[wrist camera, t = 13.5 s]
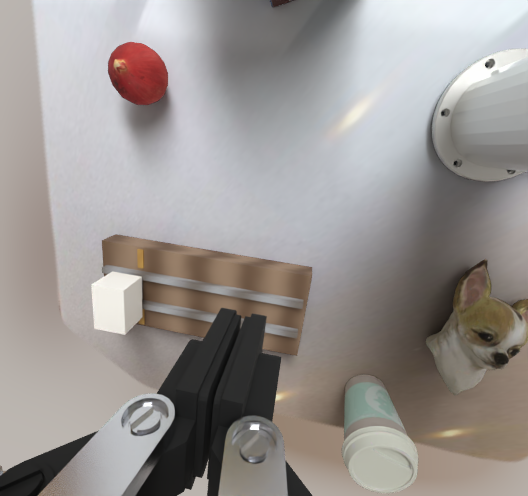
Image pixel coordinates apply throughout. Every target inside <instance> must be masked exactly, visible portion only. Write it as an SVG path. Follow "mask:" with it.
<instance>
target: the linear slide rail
mask: <svg viewBox="0 0 528 496" xmlns="http://www.w3.org/2000/svg"><path fill="white" fill-rule="evenodd" d="M102 250H103V266H104V267H102V273H104V276H106V275H107V274H109V273H111V272H112V271H113V272H118V273H124V274H129V275H135V276H141V277H142V280H143V299H142V318H141V319H140V320H139V321H138V322H137V323H136V324H139V325H144V326H149V327H154V328H159V329H164V330H169V331H174V332H179V333H184V334H189V335H195V336H200V337H205V336H206V334H207V332H208V330H209V329H210V327H211V325H212V323H213V321H214V320H215V318H216V316H217V314H218V313H219V311H220V309H221V308H227V309H232V310H236V311H237V315H241V326H242V324H243V321H244V318H245V316H247V317H251V314H252V313H253V314H259V315H264V316H267V319H266V327H265V334H264V341H263V348H262V349H266V350H271V351H276V352H281V353H286V354H291V355H296V356H297V353H298V348H299V342H300V337H301V332H302V327H303V321H304V316H305V311H306V305H307V300H308V295H309V290H310V284H311V279H312V267H307V266H301V265H295V264H289V263H283V262H277V261H271V260H265V259H259V258H253V257H247V256H241V255H235V254H229V253H223V252H217V251H211V250H205V249H199V248H193V247H187V246H182V245H176V244H170V243H164V242H158V241H152V240H146V239H140V238H134V237H128V236H122V235H116V234H115V235H113V236H111V237H109V238H107V239H104V240H102ZM241 326H240V329H241Z"/></svg>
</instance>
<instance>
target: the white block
mask: <svg viewBox="0 0 528 496" xmlns="http://www.w3.org/2000/svg"><path fill="white" fill-rule="evenodd" d="M91 288H92V301H93V314H94V328H95V329H99V330H104V331H109V332H114V333H119V334H124V335H125V334H126V333H127V332H128V331H129V330H130V329H131V328H132V327H133V326H134V325H135V324H136V323H137V322H138V321H139V320H140V319H141V318H142V299H143V280H142V277H141V276H135V275H129V274H124V273H118V272H113V271H112V272H111V273H109V274H107V275H106V276H104V277H103V278H101V279H100V280H98V281H96V282H95V283H93V284H92V285H91Z"/></svg>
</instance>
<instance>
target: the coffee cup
mask: <svg viewBox="0 0 528 496" xmlns="http://www.w3.org/2000/svg"><path fill="white" fill-rule="evenodd" d="M342 457H343V460H344V463H345V466H346V467H347V469H348V471H349V473H350V476H351V477H352V479H353V480H354V481H355V482H356V483H357V484H358V485H360V486H362V487H363V488H365V489H367V490H370V491H373V492H378V493H394V492H398V491H401V490H404V489H405V488H407V487H409V486H410V485H411V484H412V483H413V482H414V481H415V479H416V477H417V472H418V469H417V466H418V454H417V449H416V446H415V444H414V443H413V441H412V440H411V439H410V438H409V437H408V435H407V433H406V431H405V428H404V426H403V424H402V422H401V420H400V418H399V416H398V414H397V411H396V409H395V407H394V405H393V403H392V401H391V399H390V397H389V394H388V392H387V390H386V388H385V386H384V384H383V383H382V381H381V380H379V379H378V378H376V377H374V376H371V375H357V376H355V377H353V378H351V379H350V380H349V381H348V382H347V384H346V386H345V416H344V443H343V446H342Z"/></svg>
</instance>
